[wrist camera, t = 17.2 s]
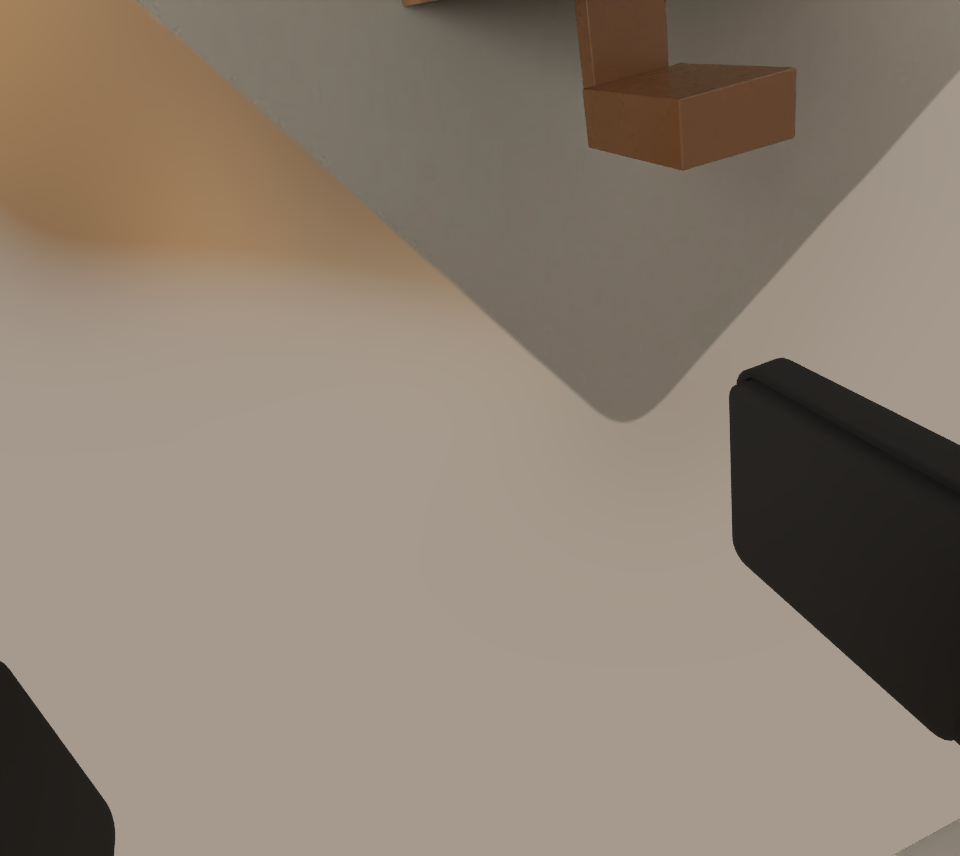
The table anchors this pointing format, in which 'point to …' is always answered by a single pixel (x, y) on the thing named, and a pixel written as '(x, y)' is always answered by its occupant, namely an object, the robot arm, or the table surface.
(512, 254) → the table surface
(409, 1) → the stand
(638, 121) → the dark piece
